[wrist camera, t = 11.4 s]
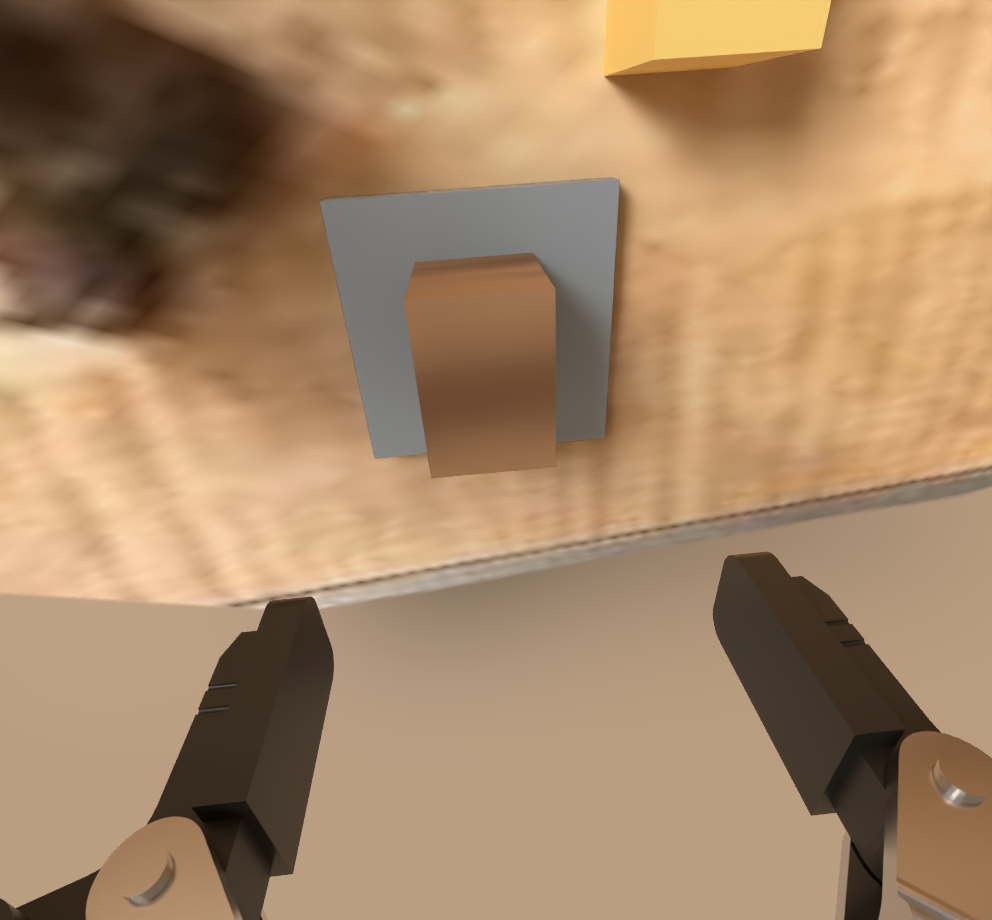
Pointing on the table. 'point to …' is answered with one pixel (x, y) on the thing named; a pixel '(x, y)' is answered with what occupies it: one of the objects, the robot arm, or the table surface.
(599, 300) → the slate baseplate
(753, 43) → the mustard brick
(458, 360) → the walnut brick
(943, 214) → the table surface
